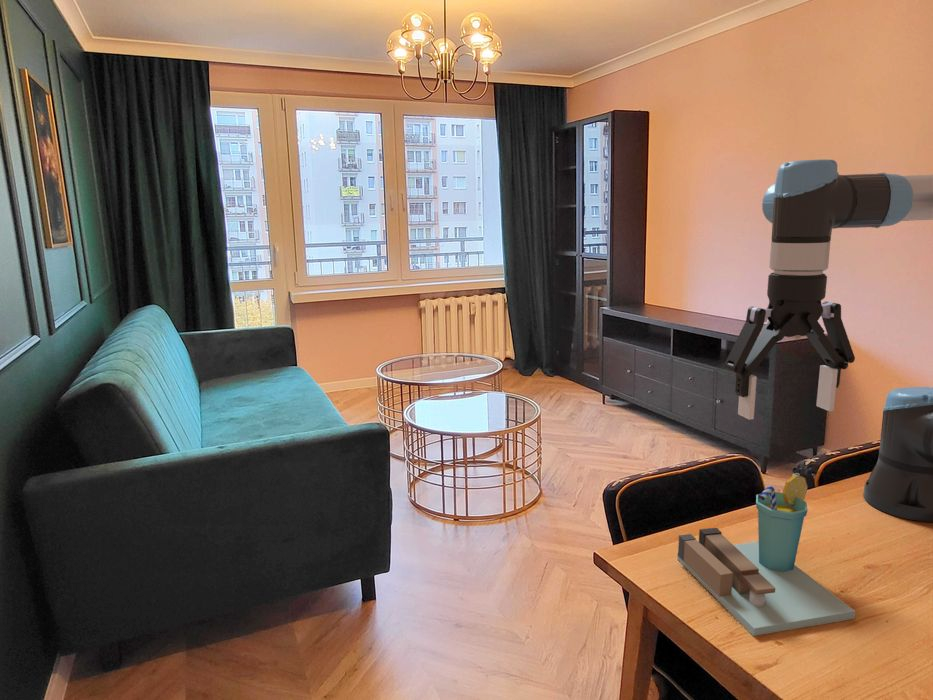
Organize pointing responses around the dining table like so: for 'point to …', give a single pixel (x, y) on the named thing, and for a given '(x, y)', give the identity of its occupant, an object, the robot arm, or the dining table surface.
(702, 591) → the dining table surface
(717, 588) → the stool seat
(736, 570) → the leg
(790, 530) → the cup
